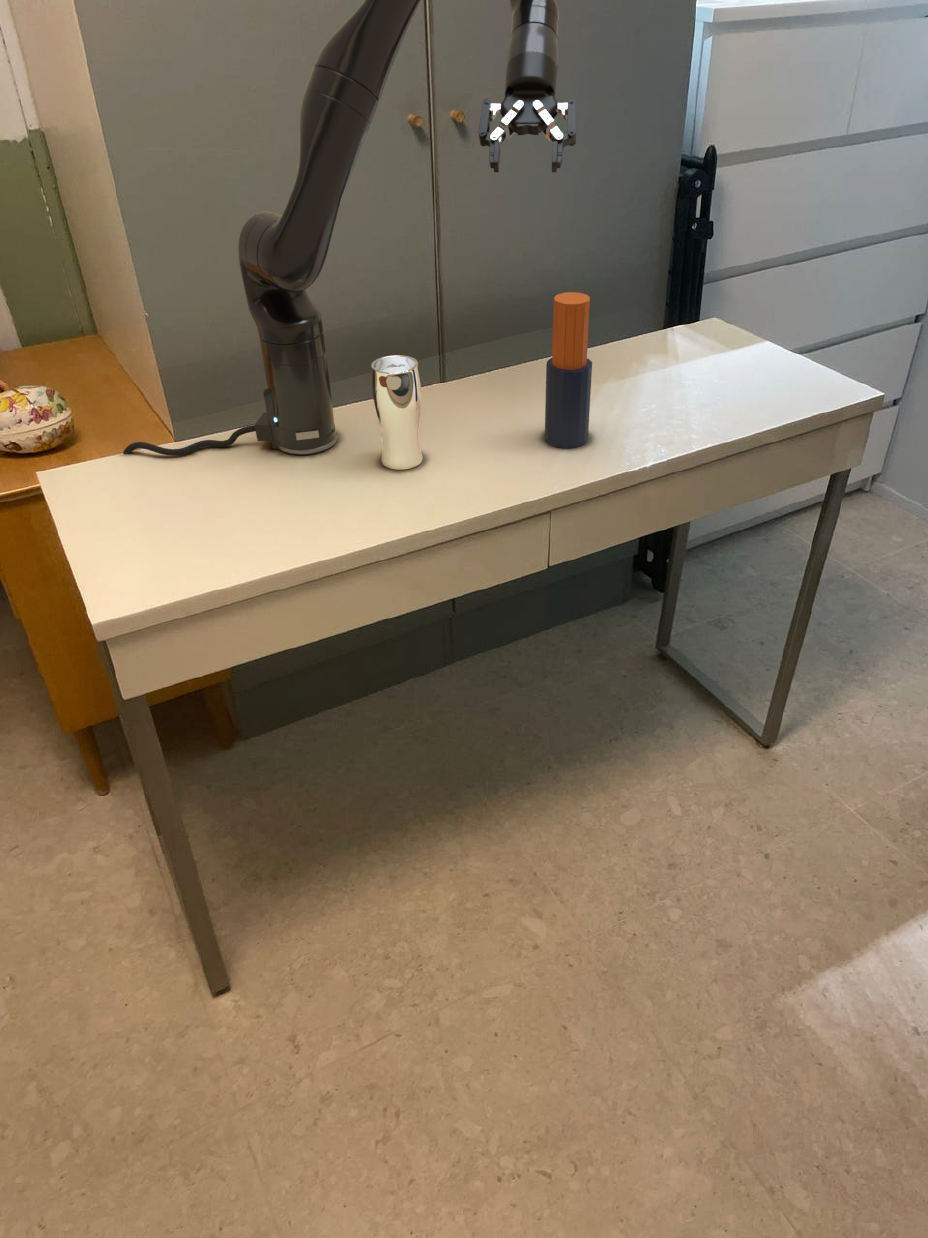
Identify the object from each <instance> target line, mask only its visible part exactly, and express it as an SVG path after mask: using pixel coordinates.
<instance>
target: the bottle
mask: <svg viewBox="0 0 928 1238" xmlns="http://www.w3.org/2000/svg"><path fill="white" fill-rule="evenodd" d="M545 365H546V366H545V367H546V368H545V369H546V370H545V405H544V406H545V407H544V408H545V409H544V440H545V443H547V444H548V445H549V446H552V447H556V448H560V449H574V448H579V447H582V446H584V445H585V444H586V443H587V442H588V440H589V429H590V427H589V426H590V411H591V393H592V390H591V389H592V376H593V375H592V374H593V361H591V359H590V358H588V357H587V365H586V366H585V367H583V368H581V369H576V370H563V369H559V368H556V367H554V366H553V365H552V357H550V358H549V359H548V360H547V361H546V364H545Z"/></svg>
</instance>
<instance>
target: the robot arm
mask: <svg viewBox="0 0 928 1238" xmlns="http://www.w3.org/2000/svg"><path fill="white" fill-rule="evenodd" d="M421 1H422V0H363V2H362V3H361V5H359V7H358V8H357V9H356V10H355V11H354V12H353V13H352V14H351V15H350V17H348V18H347V19H346V20H345V21H344V23H343V24H342V25H341V26H340V27H339V28H338V29H337V30H336V31H335V32H334V33H333V34H332V35H331V37H330V38H329V39H328V40H327V41H326V43H325V44H323V47H322V48H321V50H320V51H319V53H318V55H317V57H316V59H315V62H314V64H313V67H312V69H311V72H310V75H309V77H308V81H307V83H306V86H305V88H304V91H303V95H302V98H301V101H300V106H299V111H298V112H299V113H298V166H297V172H296V178H295V181H294V184H293V187H292V190H291V192H290V195H289V198H288V200H287V202H286V205H285V207H284V210H283V213H282V214H281V213H278V212H275V211H268V210H266V211H259V212H256V213H254V214H253V215H251V216H250V217H248V218H247V219H246V220H245V222H244V223H243V225H242V227H241V228H240V231H239V234H238V240H237V256H238V257H237V258H238V263H239V268H240V273H241V274H240V275H241V278H242V284H243V288H244V293H245V297H246V302H247V306H248V310H249V313H250V315H251V317H252V320H253V321H254V323H255V326H256V328H257V332H258V338H259V345H260V350H261V356H262V362H263V368H264V374H265V380H266V386H265V388H264V389H263V399H264V404H265V405H264V406H265V409H266V411H264V412H262V414H261V415H260V416H259V418H258V419H257V421H256V422H255V424H252V425H248V426H244V427H241V428H238V429H237V430H235V431H233V432H232V434H231V435H230V436H229V438H228V439H225V440H217V439H204V440H199V441H196V442H194V443H191V444H189V445H187V446H184V447H182V448H181V447H180V448H167V447H162V446H158V445H156V444H152V443H150V442H145V441H134V442H132V443H130V444H128V445H127V446H126V447H125V448H124V450H123V451H122V454H123V455H129V454H131V453H132V452H133V451H135V450H137V449H143V450H147V451H150V452H153V453H156V454H159V455H164V456H171V457H172V456H183V455H186V454H189V453H192V452H194V451H197V450H199V449H201V448H207V447H213V448H214V447H215V448H226V447H230V446H232V445H233V444H234V443H235V442H236V441H237V439H238V438H239V437H241V436H243V435H245V434H249V433H253V432H255V436H256V441H257V442H271V445H272V449H274V450H280V451H281V452H283V453H287V454H291V455H301V456H302V455H312V454H317V453H321V452H323V451H326V450H328V449H330V448H332V447H333V446H335V444H336V443H337V441H338V435H337V433H338V432H337V431H336V423H335V416H334V415H335V414H334V407H333V406H334V405H333V398H332V390H331V382H330V374H329V366H328V357H327V350H326V343H325V333H324V325H323V319H322V314H321V311H320V310H319V308H318V307H317V306H316V304H315V303H314V302H313V300H312V299H311V297H310V296H309V294H308V292H307V289H309V288H310V287H311V286H312V285H313V284H314V283H315V281H316V280H317V279H318V277H319V276H320V274H321V272H322V269H323V267H324V265H325V263H326V259H327V255H328V252H329V248H330V245H331V241H332V238H333V233H334V230H335V227H336V226H335V225H336V222H337V218H338V215H339V212H340V209H341V205H342V202H343V198H344V196H345V193H346V189H347V186H348V184H349V181H350V179H351V176H352V173H353V171H354V168H355V165H356V162H357V159H358V157H359V153H360V151H361V149H362V146H363V143H364V141H365V139H366V136H367V135H368V131H369V129H370V127H371V125H372V121H373V119H374V116H375V113H376V111H377V109H378V106H379V103H380V100H381V98H382V95H383V93H384V92H383V91H384V89H385V86H386V82H387V80H388V77H389V75H390V72H391V70H392V67H393V64H394V62H395V60H396V58H397V55H398V53H399V50H400V47H401V45H402V42H403V41H404V38H405V36H406V33H407V31H408V28H409V26H410V24H411V22H412V20H413V18H414V16H415V14H416V11H417V9H418V7H419V6H420V4H421ZM508 3H509V8H510V13H511V25H510V38H509V45H508V50H507V58H506V69H505V70H506V71H505V84H504V86H505V87H504V97H503V100H502V101H501V102H500V103H492V101H491V99H490V98H485V99H483V101H482V104H481V111H480V117H479V126H478V140H479V145H480V146H481V147H489V154H488V155H489V156H488V162H489V168H490V169H493V173H499V172H500V161H501V147H502V146H503V145H504V144H505V143H506V142H508V141H509V140H510V139H511V138H512V137H513V136H514V135H515V134H517V136H526V135H532V136H539V134H541V133H542V134H543V136H544V137H545V138H546V140H547V141H549V142H550V143H551V144H552V152H551V173H557V172H558V169H561V168H562V166H563V153H564V148H565V147H567V146H569V147H575V145H576V143H577V100H576V98H574V97H570V98H568V100H567V102H558V101H557V99H556V96H557V95H556V93H557V77H558V70H559V63H558V61H559V47H558V38H559V37H558V35H559V17H560V13H559V6H558V3H557V1H556V0H508ZM558 114H560V115H561V117H562V119H563V120H564V121H567V131H564V132H563V131H561V130H560V127H558V125H557V123H556V120H555V118H556V117H557V116H558ZM498 115H501V116H502V119H501V120H500V121H499V123H498V126H497V127H496V128H495V129H494V130H493V131H492V132H490V131H491V124H492V122H494V121H495V119H496V118H497V116H498Z"/></svg>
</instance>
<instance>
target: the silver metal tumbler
mask: <svg viewBox="0 0 928 1238" xmlns="http://www.w3.org/2000/svg"><path fill="white" fill-rule="evenodd" d="M370 367H371V394H372V402H373V407H374V411H375V415H376V419H377V422H378V425H379V430H380V433H381V439H382V450H381V464H382V465H383V466H384V467H386V468H388V469H391V470H395V471H404V470H410V469H413V468H417V466H419V465H420V464H422V462H423V453H422V450H421V445H420V439H419V430H420V429H419V428H420V421H421V411H422V385H421V376H420V370H419V362H418V360H417V359H416V358H414V357H412V356H409V355H403V354H401V355H400V354H393V355H387V356H382V357H379V358H377V359H375V360H374V361H372V363H371V365H370Z"/></svg>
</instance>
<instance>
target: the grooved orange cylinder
mask: <svg viewBox="0 0 928 1238" xmlns="http://www.w3.org/2000/svg"><path fill="white" fill-rule="evenodd" d="M590 305H591V297H590V296H589V295H588V294H586V293H583V292H578V291H577V292H576V291H575V292H574V291H569V292H568V291H567V292H562V293H558V294H556V295H555V296H554V297H553V310H552V311H553V315H552V344H551V345H552V347H551V348H552V350H551V358H552V365H553V366H554V367H556V368H559V369H563V370H576V369H581V368H583V367H585V366H586V365H587V358H588V345H589V327H590V309H591V308H590V307H591V306H590Z"/></svg>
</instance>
